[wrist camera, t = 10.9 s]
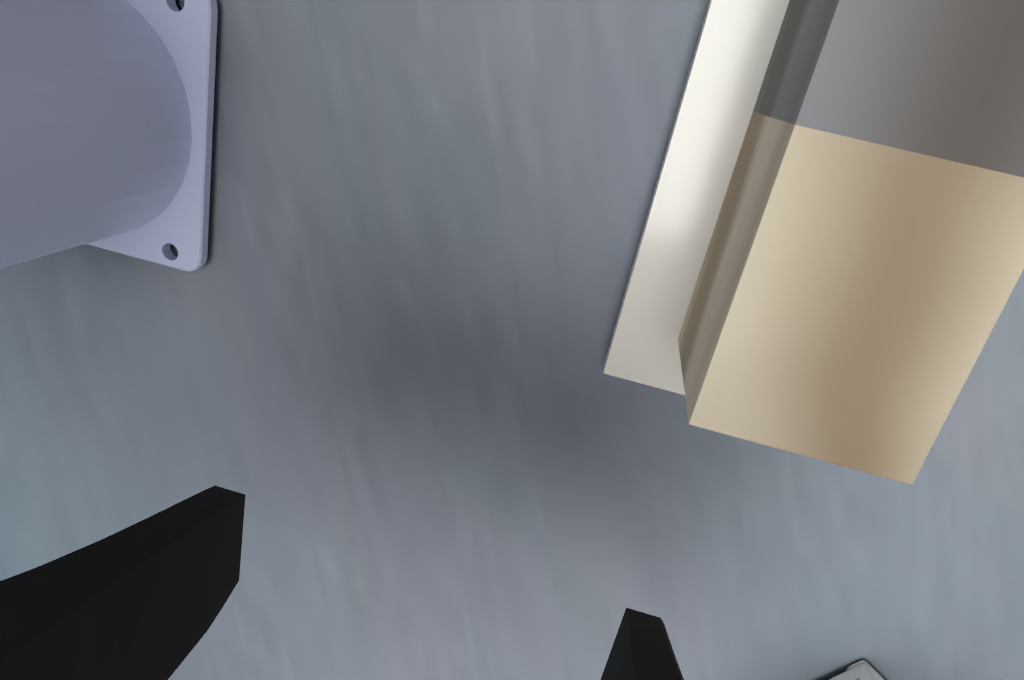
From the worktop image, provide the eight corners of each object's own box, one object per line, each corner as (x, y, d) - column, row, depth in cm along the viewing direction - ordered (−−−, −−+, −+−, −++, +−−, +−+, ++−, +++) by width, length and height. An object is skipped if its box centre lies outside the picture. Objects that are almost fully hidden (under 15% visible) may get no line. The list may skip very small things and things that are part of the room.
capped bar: (677, 339, 19) (688, 424, 14) (798, -28, 15) (864, -73, 11) (844, 383, 18) (911, 484, 14) (1006, 16, 15) (1168, -11, 10)
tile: (605, 359, 20) (603, 373, 20) (740, -108, 16) (746, -119, 15) (879, 433, 20) (890, 450, 19) (1102, -34, 15) (1132, -41, 14)
